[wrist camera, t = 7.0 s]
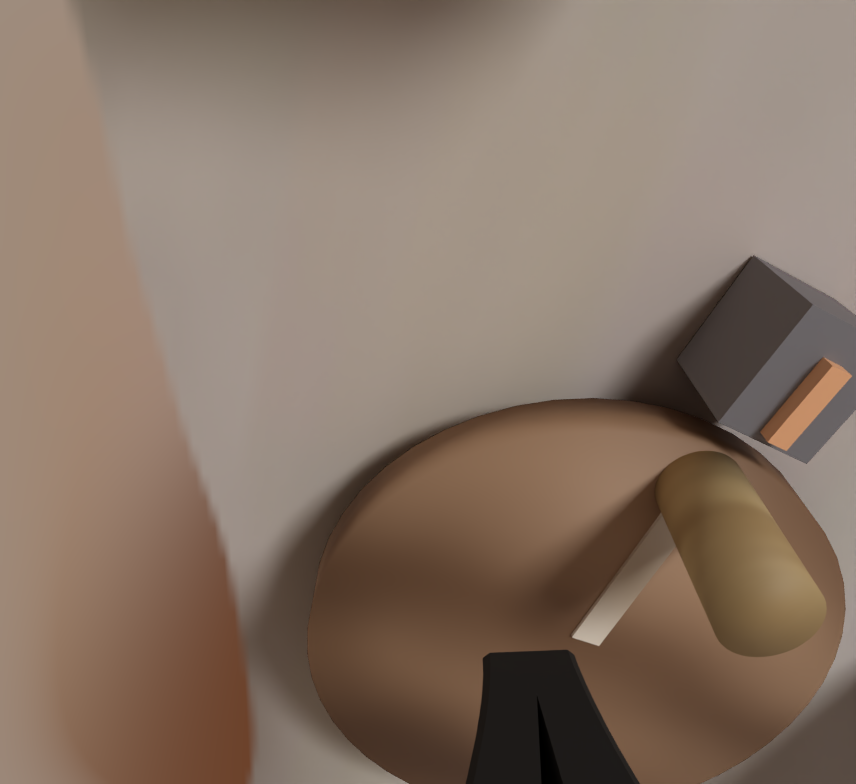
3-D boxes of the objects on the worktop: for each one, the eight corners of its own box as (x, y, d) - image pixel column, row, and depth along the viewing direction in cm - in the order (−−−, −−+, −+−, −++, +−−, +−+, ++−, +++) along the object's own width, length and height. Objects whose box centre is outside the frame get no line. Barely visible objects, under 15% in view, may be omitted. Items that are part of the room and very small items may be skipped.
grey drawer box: (753, 255, 17) (822, 312, 14) (834, 299, 18) (917, 362, 15) (676, 359, 18) (725, 432, 15) (753, 397, 19) (815, 474, 16)
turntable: (645, 809, 25) (696, 1003, 20) (252, 700, 23) (204, 894, 18) (930, 510, 19) (1100, 688, 14) (435, 311, 16) (439, 447, 12)
